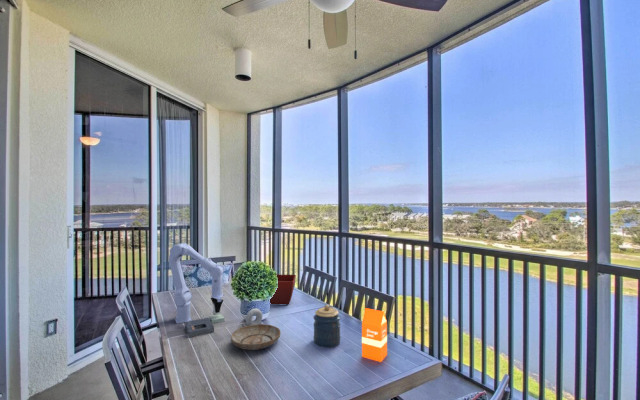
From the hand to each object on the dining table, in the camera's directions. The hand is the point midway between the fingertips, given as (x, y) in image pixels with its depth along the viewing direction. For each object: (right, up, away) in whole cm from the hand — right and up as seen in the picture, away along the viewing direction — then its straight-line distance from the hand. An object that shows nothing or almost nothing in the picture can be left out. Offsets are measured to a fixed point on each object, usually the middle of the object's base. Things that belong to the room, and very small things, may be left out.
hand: (216, 311), depth 171 cm
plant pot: (+33, -6, +33) cm, 47 cm away
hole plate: (-5, -5, -12) cm, 14 cm away
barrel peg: (0, -1, 0) cm, 1 cm away
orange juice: (+83, -5, -41) cm, 93 cm away
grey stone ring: (+24, -5, -10) cm, 26 cm away
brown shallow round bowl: (+29, -5, -29) cm, 41 cm away
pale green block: (0, -5, 0) cm, 5 cm away
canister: (+63, -5, -27) cm, 69 cm away
